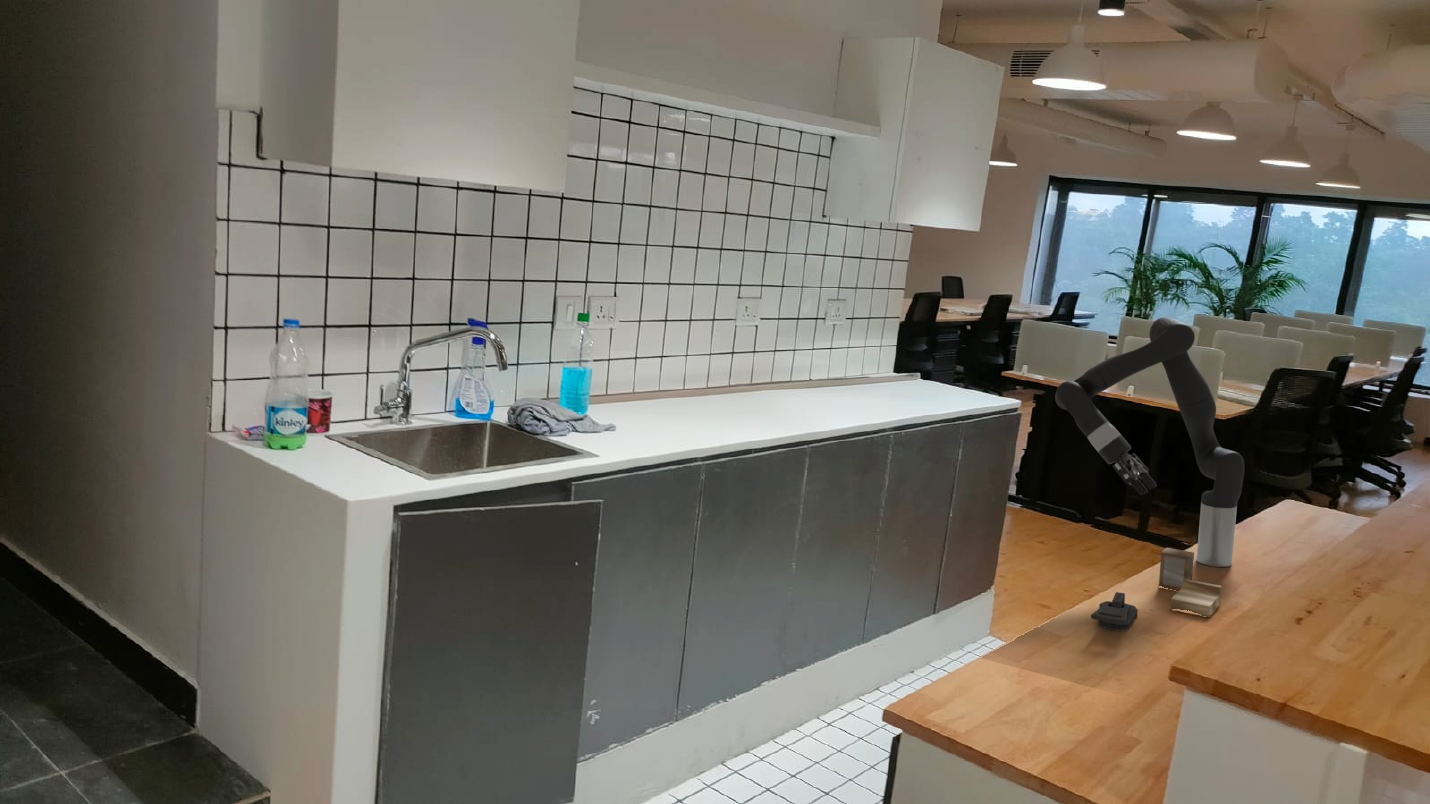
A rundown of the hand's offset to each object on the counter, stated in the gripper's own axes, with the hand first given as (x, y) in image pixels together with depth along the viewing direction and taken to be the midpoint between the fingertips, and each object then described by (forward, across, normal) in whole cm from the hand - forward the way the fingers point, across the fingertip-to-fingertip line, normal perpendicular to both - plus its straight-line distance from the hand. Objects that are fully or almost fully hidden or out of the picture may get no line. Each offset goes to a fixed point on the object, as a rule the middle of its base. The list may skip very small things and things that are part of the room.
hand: (1149, 490), depth 284 cm
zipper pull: (+21, -36, +16) cm, 45 cm away
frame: (+24, +2, +13) cm, 27 cm away
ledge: (+30, -10, +7) cm, 32 cm away
